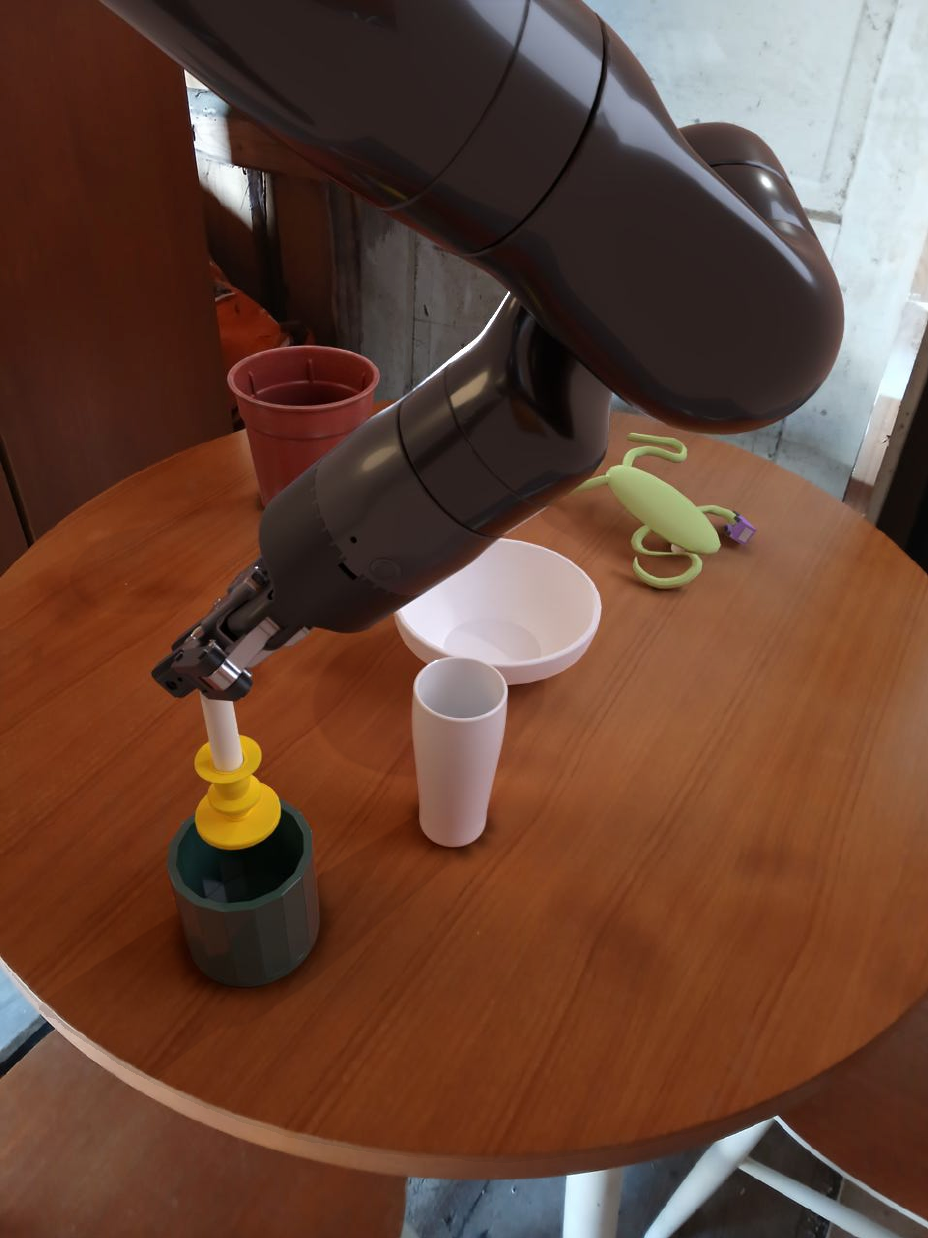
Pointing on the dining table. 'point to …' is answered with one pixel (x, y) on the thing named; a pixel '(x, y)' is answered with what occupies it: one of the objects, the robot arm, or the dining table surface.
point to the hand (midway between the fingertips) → (177, 669)
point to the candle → (232, 783)
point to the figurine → (666, 511)
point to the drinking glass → (457, 745)
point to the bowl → (507, 613)
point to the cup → (247, 901)
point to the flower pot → (299, 407)
